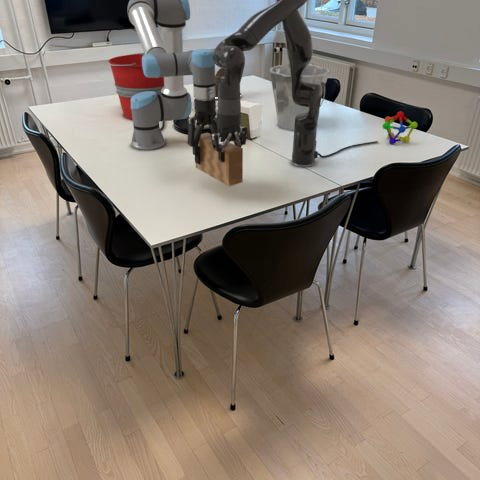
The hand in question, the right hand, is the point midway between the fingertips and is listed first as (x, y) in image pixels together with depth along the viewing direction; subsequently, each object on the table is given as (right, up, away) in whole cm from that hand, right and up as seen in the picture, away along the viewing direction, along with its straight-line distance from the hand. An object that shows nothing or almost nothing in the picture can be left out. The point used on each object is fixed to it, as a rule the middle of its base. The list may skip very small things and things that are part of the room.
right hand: (229, 159), depth 153 cm
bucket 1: (-50, +43, +96) cm, 116 cm away
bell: (-5, +63, +128) cm, 143 cm away
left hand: (-9, +2, +12) cm, 15 cm away
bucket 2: (+33, +33, +80) cm, 93 cm away
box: (-4, -4, +9) cm, 11 cm away
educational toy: (+78, +18, +58) cm, 98 cm away
